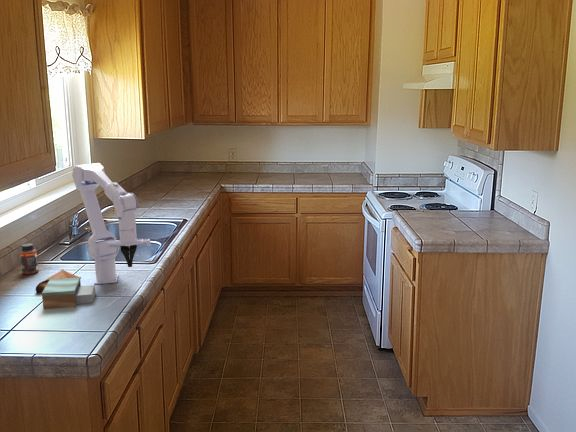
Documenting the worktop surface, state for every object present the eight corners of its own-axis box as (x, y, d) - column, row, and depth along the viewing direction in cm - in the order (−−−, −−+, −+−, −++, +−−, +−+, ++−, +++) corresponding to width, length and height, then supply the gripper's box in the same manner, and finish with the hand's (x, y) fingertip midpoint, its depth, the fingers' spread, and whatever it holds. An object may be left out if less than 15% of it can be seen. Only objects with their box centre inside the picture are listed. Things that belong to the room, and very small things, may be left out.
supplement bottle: (42, 271, 218) (39, 243, 216) (29, 275, 213) (25, 247, 210) (31, 269, 221) (28, 241, 218) (18, 273, 216) (15, 245, 213)
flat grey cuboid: (53, 296, 192) (52, 288, 191) (95, 293, 195) (94, 285, 194) (48, 306, 184) (47, 297, 183) (92, 302, 187) (91, 294, 186)
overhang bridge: (51, 294, 194) (49, 279, 193) (81, 292, 196) (80, 277, 195) (43, 308, 181) (41, 293, 180) (75, 306, 183) (74, 290, 182)
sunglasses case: (58, 294, 194) (47, 278, 193) (43, 303, 195) (32, 287, 195) (82, 277, 211) (72, 262, 210) (68, 285, 213) (58, 270, 212)
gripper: (104, 232, 186) (107, 271, 189) (148, 230, 189) (151, 268, 192) (106, 227, 193) (109, 264, 196) (149, 225, 196) (151, 262, 199)
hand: (130, 266), depth 195 cm, fingers closed
